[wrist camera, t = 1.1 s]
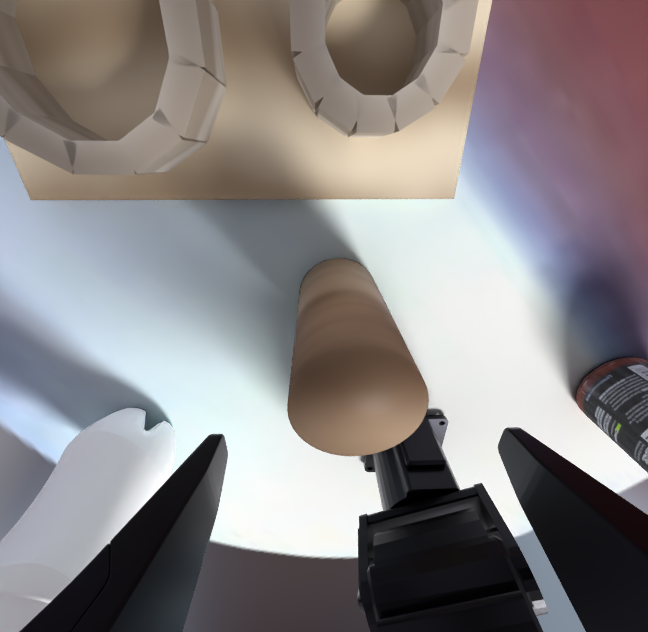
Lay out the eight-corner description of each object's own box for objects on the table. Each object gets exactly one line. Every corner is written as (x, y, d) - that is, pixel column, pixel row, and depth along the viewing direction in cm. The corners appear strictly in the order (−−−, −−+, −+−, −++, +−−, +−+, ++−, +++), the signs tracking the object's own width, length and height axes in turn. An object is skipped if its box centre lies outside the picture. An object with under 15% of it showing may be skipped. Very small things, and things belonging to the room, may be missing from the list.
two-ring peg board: (446, 196, 17) (482, 206, 13) (46, 197, 16) (-29, 208, 13) (508, -146, 11) (598, -288, 8) (-101, -164, 11) (-310, -327, 7)
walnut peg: (372, 327, 21) (417, 454, 12) (300, 329, 20) (291, 457, 12) (379, 257, 18) (440, 349, 9) (297, 258, 18) (282, 352, 9)
